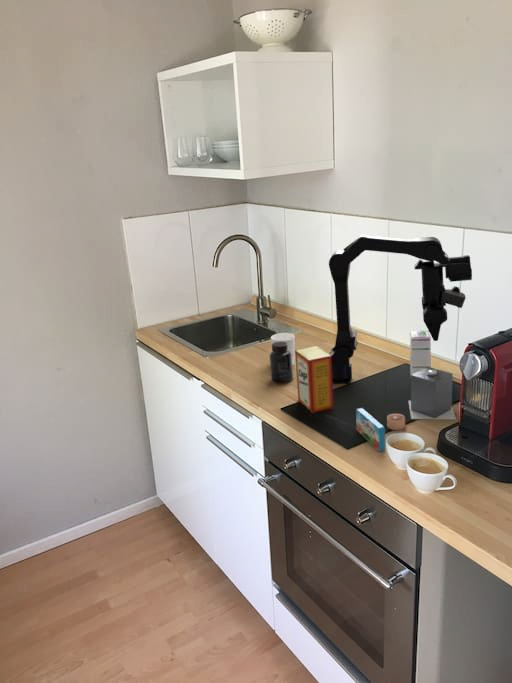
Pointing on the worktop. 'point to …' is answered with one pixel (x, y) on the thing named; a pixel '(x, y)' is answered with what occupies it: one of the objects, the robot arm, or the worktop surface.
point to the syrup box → (420, 350)
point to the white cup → (288, 339)
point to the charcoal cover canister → (431, 392)
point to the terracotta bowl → (396, 421)
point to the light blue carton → (370, 429)
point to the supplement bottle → (281, 363)
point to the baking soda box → (314, 378)
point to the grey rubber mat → (417, 415)
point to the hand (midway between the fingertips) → (435, 335)
